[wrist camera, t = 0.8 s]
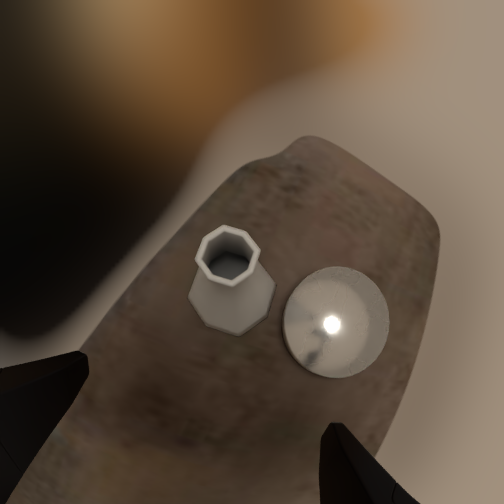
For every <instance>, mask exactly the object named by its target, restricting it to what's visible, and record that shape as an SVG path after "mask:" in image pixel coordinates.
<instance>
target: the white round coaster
mask: <svg viewBox="0 0 504 504" xmlns="http://www.w3.org/2000/svg"><path fill="white" fill-rule="evenodd" d="M388 331H389V312H388V307H387V304H386V301H385V299H384V297H383V295H382V293H381V291H380V290H379V288H378V287H377V286H376V284H375V283H374V282H373V281H372V280H371V279H369V278H368V277H367V276H366V275H364V274H362V273H361V272H359V271H356V270H354V269H351V268H347V267H328V268H324V269H320V270H318V271H316V272H314V273H312V274H311V275H309V276H308V277H306V278H305V279H304V280H303V281H302V282H301V283H300V284H299V285H298V286H297V287H296V288H295V289H294V291H293V292H292V293H291V295H290V297H289V298H288V300H287V302H286V305H285V308H284V312H283V317H282V332H283V337H284V341H285V344H286V346H287V348H288V350H289V352H290V354H291V355H292V357H293V358H294V359H295V360H296V361H297V362H298V363H299V364H300V365H301V366H302V367H304V368H305V369H307V370H309V371H311V372H313V373H315V374H318V375H322V376H325V377H331V378H342V377H348V376H352V375H355V374H357V373H359V372H361V371H363V370H364V369H366V368H367V367H368V366H370V365H371V364H372V363H373V362H374V361H375V360H376V358H377V357H378V356H379V354H380V353H381V351H382V349H383V347H384V345H385V343H386V340H387V336H388Z"/></svg>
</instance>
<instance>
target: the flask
mask: <svg viewBox="0 0 504 504" xmlns="http://www.w3.org/2000/svg"><path fill="white" fill-rule="evenodd" d="M260 251H261V250H260V249H259V247H258V246H257V245H256V243H255V242H254V241H253V239H252V238H251V237H250V236H249V234H248V233H247V232H246V231H243V230H240V229H237V228H233V227H230V226H226V225H222V226H220V227H219V228H217V229H216V230H214V231H213V232H211V233H209V234H208V235H206V236H205V237H203V240H202V242H201V245H200V247H199V250H198V252H197V255H196V258H195V261H196V263H197V264H198V266H199V268H198V270H197V273H196V276H195V279H194V281H193V284H192V287H191V290H190V292H189V295H188V298H187V299H188V300H189V302H190V303H191V305H192V306H193V308H194V309H195V311H196V312H197V314H198V315H199V316H200V318H201V319H202V321H203V322H204V324H205V325H206V326H207V327H210V328H213V329H216V330H219V331H222V332H225V333H228V334H231V335H234V336H238V337H240V336H242V335H243V334H244V333H246V332H247V331H249V330H250V329H252V328H253V327H254V326H256V325H257V324H258V323H260V322H261V321H263V320H264V319H265V318H267V317H268V313H269V310H270V307H271V303H272V300H273V297H274V293H275V290H276V286H277V285H276V283H275V282H274V281H273V279H272V278H271V277H270V276H269V274H268V273H267V272H266V270H265V269H264V268H263V266H262V265H261V264H260V262H259V261H258V258H259V255H260Z"/></svg>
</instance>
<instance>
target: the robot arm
mask: <svg viewBox="0 0 504 504" xmlns="http://www.w3.org/2000/svg"><path fill="white" fill-rule="evenodd" d="M88 375H89V365H88V357H87V355H86V354H84V353H82V352H80V351H73V352H70V353H66V354H61V355H58V356H53V357H49V358H45V359H41V360H37V361H32V362H28V363H24V364H19V365H15V366H10V367H5V368H0V504H5V503H6V502H7V500H8V498H9V497H10V495H11V493H12V492H13V490H14V489H15V487H16V485H17V484H18V482H19V481H20V479H21V477H22V476H23V474H24V473H25V471H26V469H27V468H28V466H29V465H30V463H31V462H32V460H33V459H34V457H35V456H36V454H37V453H38V451H39V450H40V448H41V447H42V446H43V444H44V443H45V441H46V440H47V438H48V437H49V435H50V434H51V433H52V431H53V430H54V428H55V427H56V426H57V424H58V423H59V421H60V420H61V419H62V417H63V416H64V415H65V413H66V412H67V410H68V409H69V408H70V406H71V405H72V403H73V402H74V400H75V398H76V396H77V395H78V393H79V391H80V389H81V388H82V386H83V384H84V382H85V381H86V379H87V377H88ZM319 488H320V504H420V503H419V502H418V501H416V500H415V499H414V498H413V497H412V496H411V495H409V494H408V493H407V492H406V491H405V490H404V489H403V488H402V487H401V486H400V485H399V484H398V483H396V481H395V480H394V479H393V478H392V476H390V474H389V473H388V472H387V471H386V470H385V469H384V468H383V467H382V466H381V465H380V464H379V463H378V462H377V461H376V459H375V458H374V457H373V456H372V455H371V454H370V453H369V452H368V451H367V450H366V449H365V448H364V446H363V445H362V444H361V443H360V442H359V441H358V440H357V439H356V438H355V436H354V435H353V434H352V433H351V432H350V431H349V430H348V429H347V427H346V426H345V425H344V424H343V423H341V422H331V423H330V424H329V425H328V427H327V429H326V430H325V432H324V433H323V435H322V437H321V444H320V463H319Z"/></svg>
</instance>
